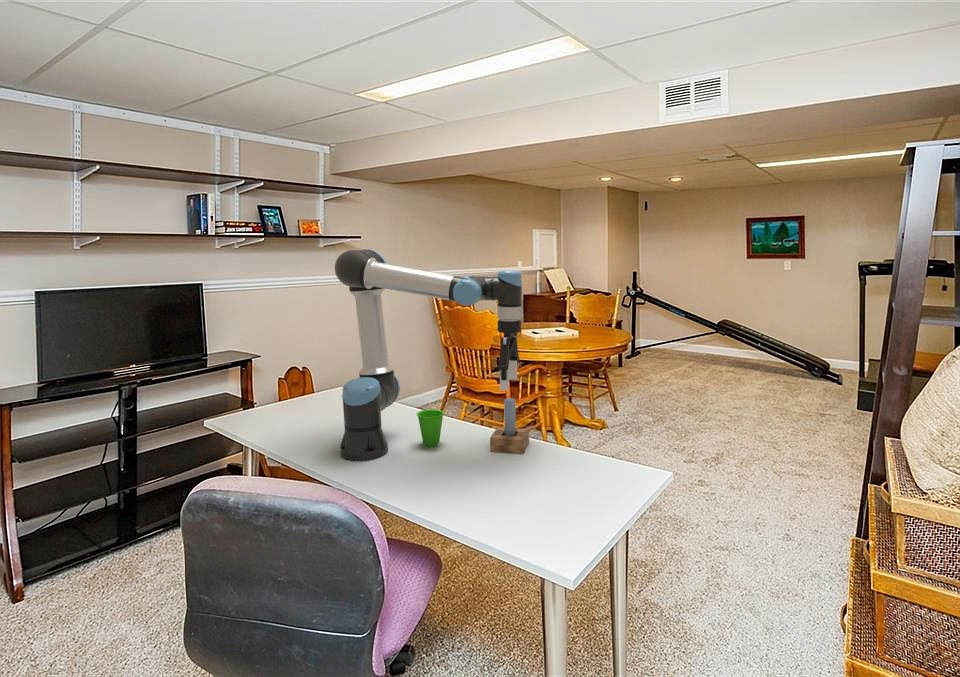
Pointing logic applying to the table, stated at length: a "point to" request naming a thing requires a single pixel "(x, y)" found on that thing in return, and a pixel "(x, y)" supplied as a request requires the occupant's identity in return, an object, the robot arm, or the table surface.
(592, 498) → the table surface
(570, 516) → the table surface
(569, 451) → the table surface
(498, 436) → the wooden socket block
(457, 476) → the table surface
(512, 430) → the blue-grey rounded rod
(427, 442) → the cup
